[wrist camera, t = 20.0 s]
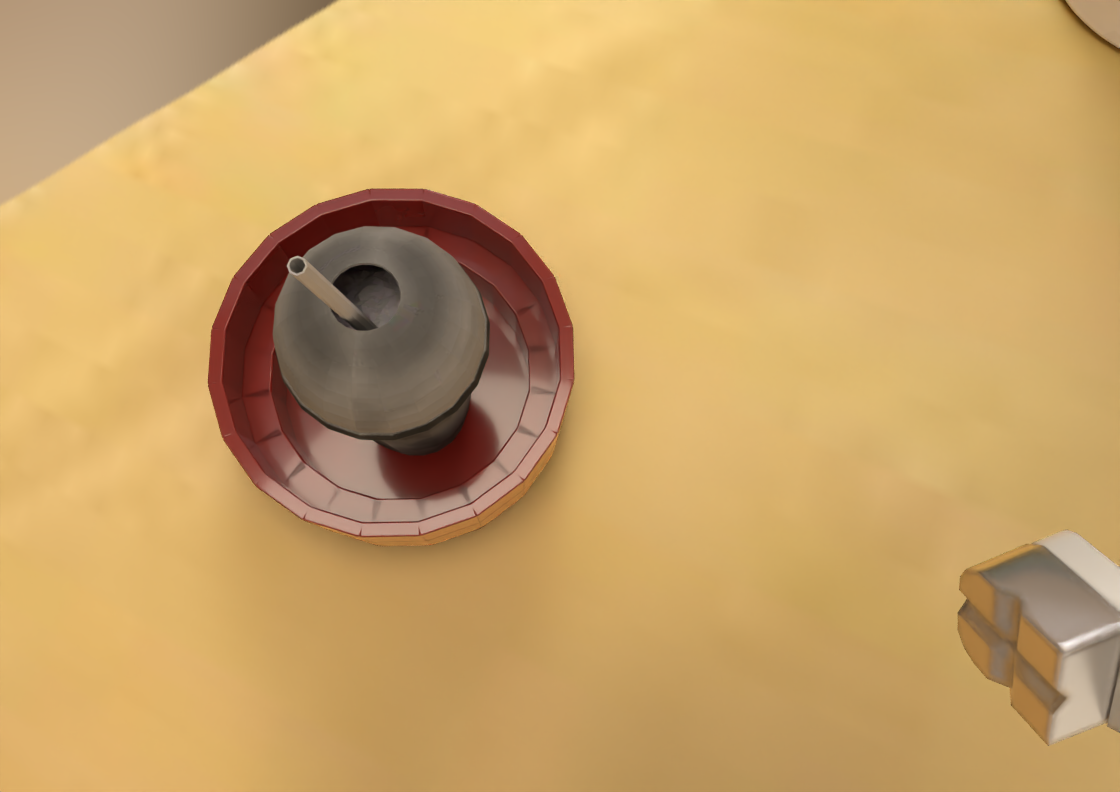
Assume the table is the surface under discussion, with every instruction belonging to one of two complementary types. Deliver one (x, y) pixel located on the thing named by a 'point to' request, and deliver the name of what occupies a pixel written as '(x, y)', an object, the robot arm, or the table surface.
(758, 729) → the table surface
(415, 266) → the beverage cup
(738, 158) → the table surface
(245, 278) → the bowl
